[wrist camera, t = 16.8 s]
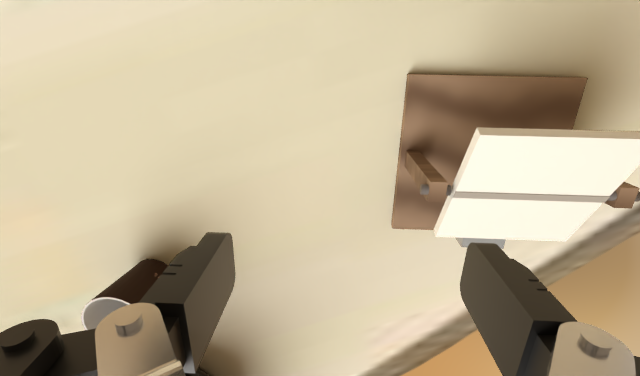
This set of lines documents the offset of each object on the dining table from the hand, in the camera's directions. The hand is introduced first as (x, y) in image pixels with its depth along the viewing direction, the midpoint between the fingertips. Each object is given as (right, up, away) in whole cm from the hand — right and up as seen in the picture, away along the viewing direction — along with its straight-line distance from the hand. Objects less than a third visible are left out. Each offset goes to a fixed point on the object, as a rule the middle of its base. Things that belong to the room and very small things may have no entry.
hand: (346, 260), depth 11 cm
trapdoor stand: (+19, +6, +31) cm, 37 cm away
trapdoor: (+19, +2, +20) cm, 27 cm away
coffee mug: (-27, -13, +41) cm, 51 cm away
